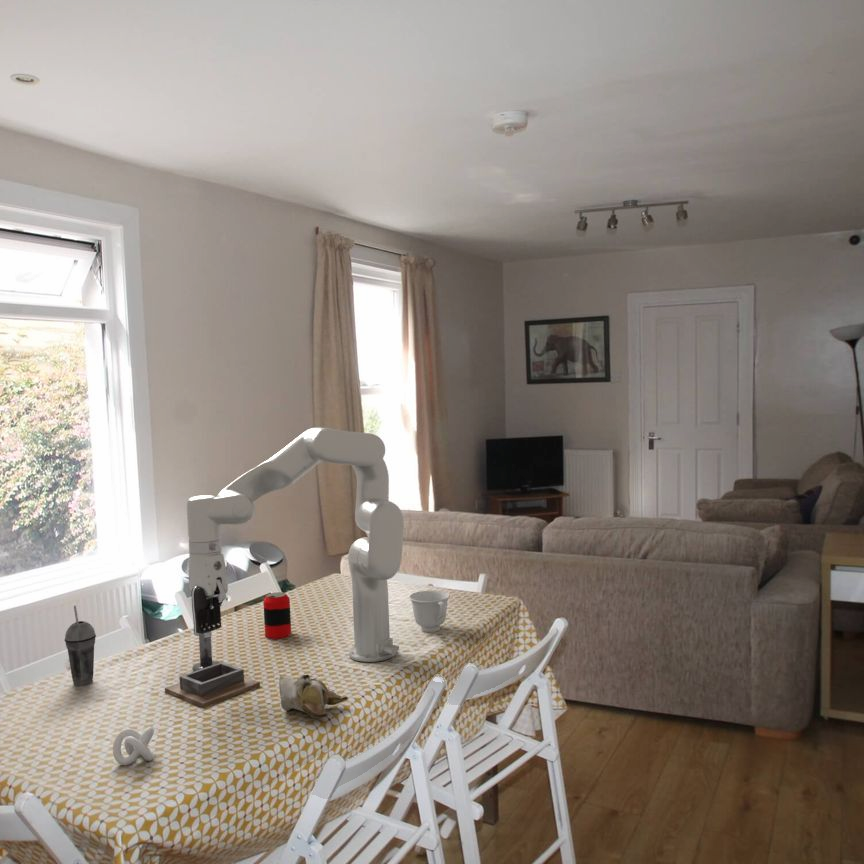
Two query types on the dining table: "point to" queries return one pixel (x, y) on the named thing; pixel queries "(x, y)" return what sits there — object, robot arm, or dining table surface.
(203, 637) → the post
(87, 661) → the beverage cup
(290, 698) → the ceramic sculpture
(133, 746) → the knot
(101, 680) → the dining table surface
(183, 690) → the holder
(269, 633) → the soda can
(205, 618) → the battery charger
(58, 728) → the dining table surface
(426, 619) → the teacup
